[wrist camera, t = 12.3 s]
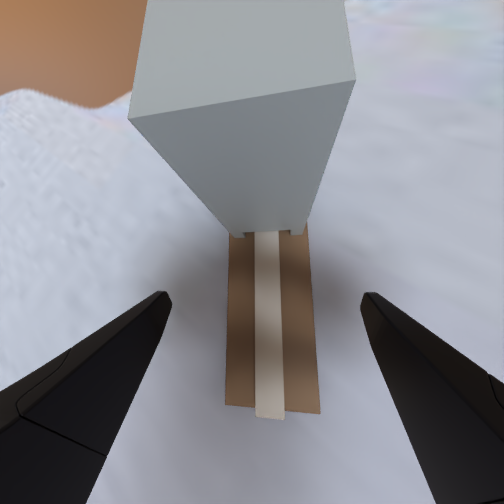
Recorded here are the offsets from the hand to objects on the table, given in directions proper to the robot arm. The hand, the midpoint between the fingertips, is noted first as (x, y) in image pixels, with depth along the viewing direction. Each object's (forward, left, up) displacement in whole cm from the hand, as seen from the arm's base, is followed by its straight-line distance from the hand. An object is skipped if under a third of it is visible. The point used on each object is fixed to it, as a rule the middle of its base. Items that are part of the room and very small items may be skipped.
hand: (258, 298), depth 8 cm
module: (+6, +5, -7) cm, 10 cm away
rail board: (+1, +1, -8) cm, 8 cm away
